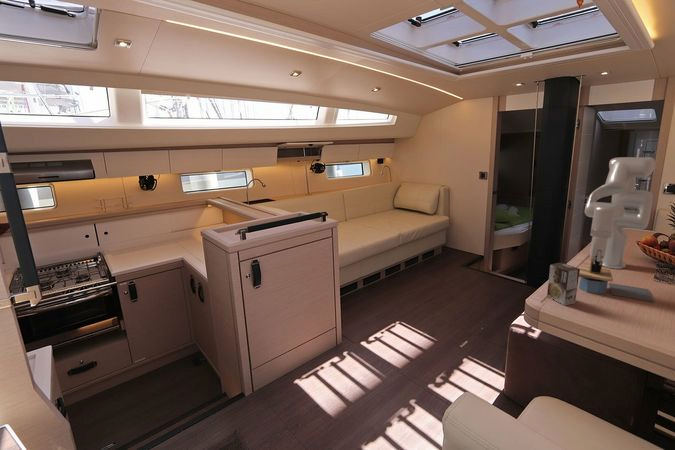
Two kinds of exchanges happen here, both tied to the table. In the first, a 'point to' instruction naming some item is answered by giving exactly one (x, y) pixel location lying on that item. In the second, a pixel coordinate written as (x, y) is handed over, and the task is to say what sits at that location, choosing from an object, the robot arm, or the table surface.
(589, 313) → the table surface
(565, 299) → the coffee box
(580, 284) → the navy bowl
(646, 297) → the charcoal mat
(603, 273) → the oak lid
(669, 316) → the table surface
